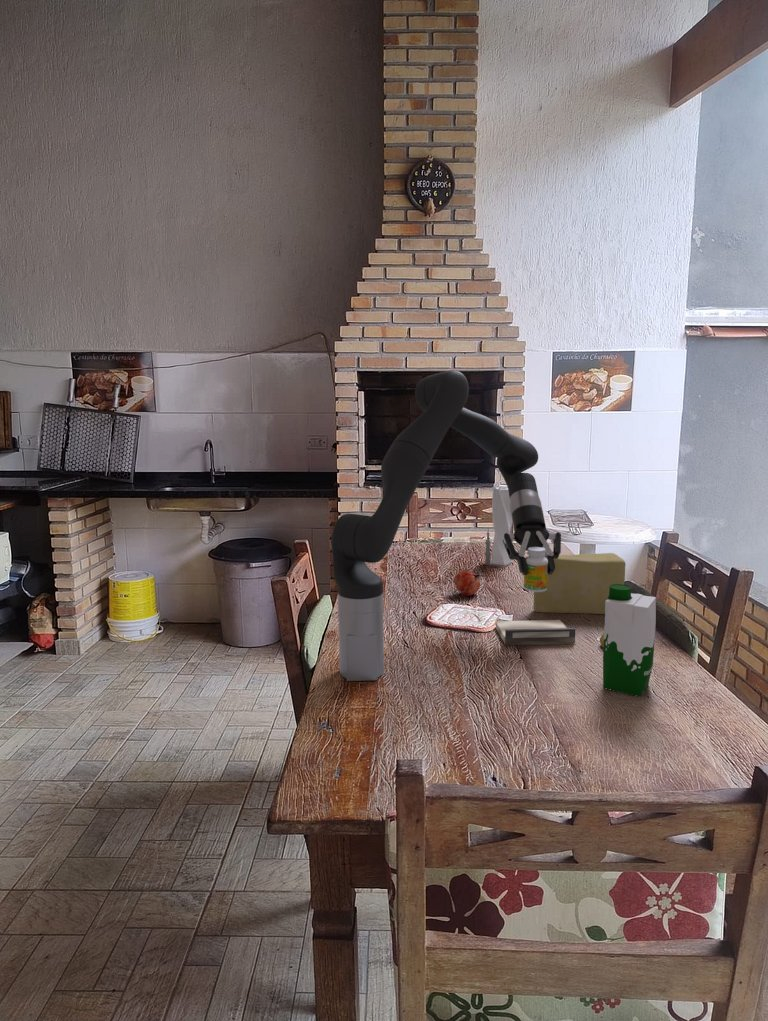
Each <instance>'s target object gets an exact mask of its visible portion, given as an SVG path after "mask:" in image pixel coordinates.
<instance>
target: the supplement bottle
mask: <svg viewBox="0 0 768 1021" xmlns="http://www.w3.org/2000/svg"><path fill="white" fill-rule="evenodd" d="M527 555H528V556H526V557H525V559H526V565H527V574H526V575H523V589H524V590H525V591H528V592H532V593H534V592H543V591H546V590H547V582H548V559H547V558H545V557H544V556H545V548H542V547H529V548H528V550H527Z"/></svg>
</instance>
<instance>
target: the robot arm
mask: <svg viewBox="0 0 768 1021" xmlns="http://www.w3.org/2000/svg"><path fill="white" fill-rule="evenodd" d="M414 392H415V393H414V396H415V399H416V400H415V401H416V403H417V405H418V407H419V408H420V409H421V411H423V412H422V413H421V414H420V415H419V416H418V417H417V418H416V419H414V421H412V422H410V424H409V425H407V427H406V428H405V429H403V430H402V431H401V432H400V433H399V434H398V435H397V436H396V438H395V439H394V440H393V442H392V443H391V445H390V446H389V448H388V450H387V452H386V454H385V456H384V458H383V460H382V462H381V468H380V474H381V475H380V476H381V482H382V488H383V489H382V490H383V496H382V498H381V501H380V503H379V505H378V507H377V508H376V510H375V512H374V513H373V514H372V515H364V514H357V513H344V514H342V515H340V516H339V517H338V519H336V520H335V523H334V526H333V529H332V533H331V550H332V551H331V553H332V565H333V578H334V581H335V584H336V586H337V603H338V604H337V605H338V606H337V608H338V611H337V612H338V613H337V614H338V618H337V619H338V650H339V651H338V652H339V654H338V656H339V658H338V659H339V674H340V676H341V677H343V678H345V679H346V681H347V682H356V681H357V682H359V681H377V680H378V678H380V677H381V676H383V674H384V673H385V662H384V659H385V657H384V656H385V654H384V653H385V652H384V651H385V650H384V649H385V647H384V643H385V642H384V637H385V636H384V581H383V578H382V577H380V576H379V575H378V574H376V573H375V572H374V571H372V570H371V568H369V566H368V565H367V563H368V564H369V563H371V564H376V563H378V562H380V561H382V560H384V558H385V557H386V555H387V554H388V553H389V551H390V549H391V547H392V545H393V543H394V540H395V538H396V535H397V532H398V531H399V530H398V529H399V527H400V525H401V522H402V520H403V517H404V514H405V512H406V509H407V508H408V506H409V504H410V502H411V500H412V498H413V495H414V494H415V492H416V490H417V488H418V486H419V484H420V483H421V481H422V479H423V477H424V476H425V473H426V472H427V470H428V468H429V466H430V464H431V462H432V460H433V458H434V456H435V454H436V452H437V450H438V448H439V447H440V445H441V443H442V441H443V439H444V438H445V435H446V434H447V432H448V431H449V429H450V428H452V429H454V430H455V431H457V432H459V433H461V435H464V436H465V437H467V438H468V439H470V440H471V441H472V442H474V443H475V444H476V445H478V447H480V448H481V449H482V450H483V451H485V452H486V453H487V454H488V455H489V456H491V457H492V458H493V457H494V458H496V467H497V469H498V470H499V471H498V472H500V474H501V476H502V477H503V480H505V481H504V482H505V485H507V487H508V491H509V497H510V509H511V511H510V512H511V515H512V527H513V533H510V535H509V534H508V533H505V534H504V537H503V540H502V541H503V543H504V546H505V548H506V551H507V554H508V556H509V558H510V559H511V560H512V561H513V560H516V561H517V565H518V570H519V572H520V573H521V574H522V576H524V575H526V574H527V565H526V559H525V558H526V557H525V553H526V551H528V548H529V547H542V548H545V556H544V557H545V558H547V559H548V574H549V575H552V573H553V572H554V570H555V563H554V559H557V558H558V557H559V555H561V552H562V534H561V532H558V531H557V532H556V533H550V532H549V530H548V529H547V526H546V521H545V516H544V510H543V505H542V501H541V499H540V497H539V496H540V495H539V491H538V486H537V482H536V478H535V477H534V475H532V473H529V472H526V471H527V470H529V469H531V468H533V467H535V466H536V465H537V463H538V461H539V453H538V450H537V448H536V447H535V446H534V445H533V444H532V443H530V441H528V440H526V439H524V438H521V437H519V436H516V435H514V434H512V433H510V432H508V431H506V430H505V428H504V427H502V425H500V424H499V423H498V422H496V421H495V420H494V419H492V418H490V417H487V416H486V415H483V414H481V413H477V412H475V411H472V410H470V409H468V408H466V407H465V405H466V403H467V401H468V398H469V394H470V387H469V382H468V379H467V377H466V376H465V375H464V373H462V372H461V371H458V370H445V371H441V372H438V373H434V374H430V375H428V376H425V377H423V378H421V379H420V380H419V381H418V382H417V384H416V386H415V389H414ZM548 539H550V542H551V544H553V548H552V549H553V551H552V549H551V548H550V544H549V543H548V541H547V540H548ZM514 541H515V542H516V543H517V544H518V545H519V546H520V548H519V551H516V548H515V546H514V543H513V542H514Z"/></svg>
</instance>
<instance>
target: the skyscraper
mask: <svg viewBox="0 0 768 1021" xmlns="http://www.w3.org/2000/svg"><path fill="white" fill-rule="evenodd" d="M502 482H505V480H504V479H502V480H498V481H497V482H496V483H495V484H493V485H494V486H493V488H492V498H491V499H492V502H491V518H492V525H493V531H494V536H493V543H492V544H493V545H492V553H491V539H490V528H489V527H487V532H486V539H485V553H484V555H485V558H484V563H483V564H484V565H486V566H494V567H499V568H500V567H501V568H504V567H506V566H509V565H510V564H512V563H513V560H511V559H510V558H509V556H508V554H507V551H506V548H505V546H504V543H503V541H502V540H503V537H504V534H505V533H508V534H509V535H510V534H511V529H512V527H513V521H512V515H511V512H510V511H511V509H510V497H509V491H508V487H507V484H500V485H498V484H499V483H502ZM497 485H498V487H497Z"/></svg>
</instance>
